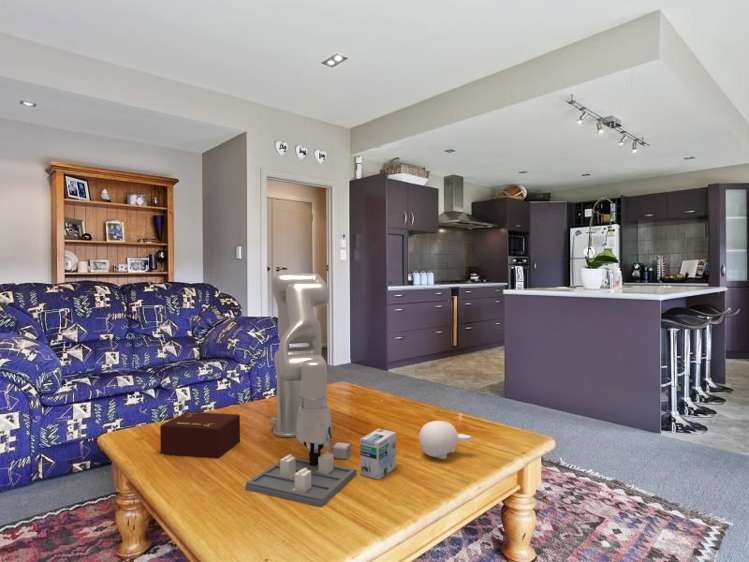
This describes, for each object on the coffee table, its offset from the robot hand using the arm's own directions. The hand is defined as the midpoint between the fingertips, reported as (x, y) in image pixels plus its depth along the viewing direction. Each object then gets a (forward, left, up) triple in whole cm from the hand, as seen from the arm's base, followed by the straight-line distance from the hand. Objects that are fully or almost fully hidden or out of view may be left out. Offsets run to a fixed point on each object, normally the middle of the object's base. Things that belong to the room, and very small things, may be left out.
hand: (314, 464), depth 132 cm
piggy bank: (+32, +28, -3) cm, 42 cm away
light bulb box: (+17, +9, -3) cm, 19 cm away
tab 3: (+4, 0, -1) cm, 4 cm away
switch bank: (0, -6, -3) cm, 7 cm away
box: (-47, +3, -3) cm, 47 cm away
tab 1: (-5, -6, -1) cm, 8 cm away
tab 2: (+4, -12, -1) cm, 13 cm away
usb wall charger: (0, +14, -3) cm, 14 cm away
